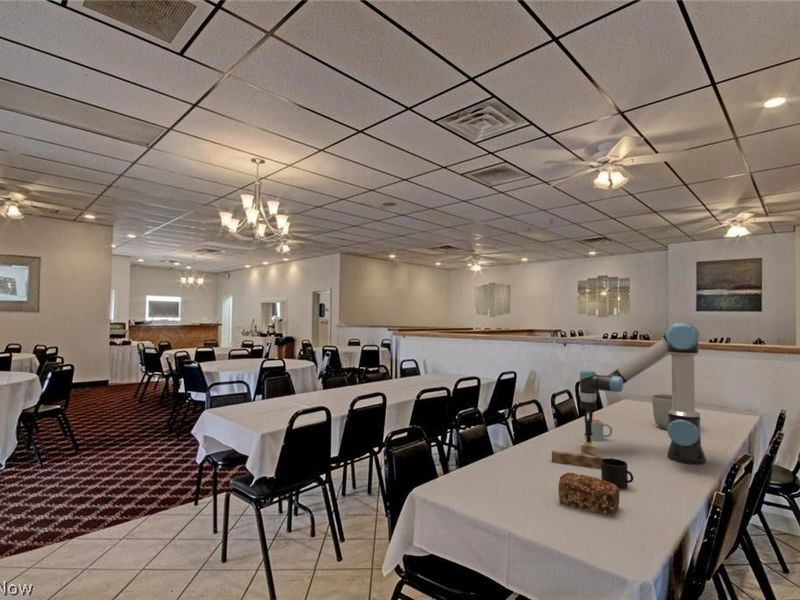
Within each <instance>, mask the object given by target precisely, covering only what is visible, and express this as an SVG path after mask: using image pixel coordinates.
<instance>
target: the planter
mask: <svg viewBox="0 0 800 600" xmlns="http://www.w3.org/2000/svg"><path fill="white" fill-rule="evenodd" d="M651 400H652V401H651V402H652V412H653V419H654V422H655V424H656V425H657V426H658V427H659V428H660V429H663V430H666V431H667V427H668V411H670V410H671V409H672V394H663V393H662V394H661V393H660V394H653V395H652V396H651Z"/></svg>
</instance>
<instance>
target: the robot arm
mask: <svg viewBox="0 0 800 600" xmlns="http://www.w3.org/2000/svg"><path fill="white" fill-rule="evenodd" d="M699 337H700V334H699V330H698V329H697V328H696V327H695V325H693V324H692V323H687V322H677V323H674V324H672V325H670V326H669V328H667V332H666V333H665V334H664V335H662V336H661V339H660V340H659V341H658V342H655V343H654V344H653V345H651V346H650V347H648V348H647V349H645V350H644V351H642V352H641V353H639V354H638V355H636V356H635V357H633V358H631V359H630V360H629V361H627V362H626V363H624V364H623V365H621V366H620V367H618V368H617V369H615V370H614V371H612V372H610V373H609V374H607V375H606V374H605V375H601V374H597V373H596V372H597V371H595V370H594V369H582V370H580V372H579V394H578V396H579V397H580V398H579V399H580V401H579V405H580V409H581V410H585V411H584V412H583V417H584V423H585V422H586V434H585V433H583V434H584V436H585V435H586V439H585V442H588V443H593V441H592V435H593V433H592V419H593V416H594V412H592V411H595V410H597V402H596V401H597V391H605V392H613V393H616V392H617V393H621V392H622V391H623V389H624V384H626V383H628V382H629V381H631V380H632V379H634V378H635V377H637V376H638V375H640V374H641V373H643V372H644V371H646V370H648V369H649V368H651V367H653V366H654V365H656V364H657V363H658V362H661V361H662V360H664V359H665V358H667V357H668V356H669V355H670V356H671V395H672V409H671V410H670V411H668V427H667V430H666V432H667V435H668V437H669V438H670V440H671V441H670V443H669V447H668V450H667V458H668V459H669V460H671V461H674V462H677V463H682V464H687V465H696V466H697V465H704V464H707V458H706V455H705V453H704V449H703V447H702V444H701V443H702V442H701V439H702V438H701V436H702V435H701V415H700V413H699V412H698V411H696V404H695V400H696V399H695V398H696V395H695V394H696V393H695V391H696V390H695V357H696V356H697V355H698V354H699Z"/></svg>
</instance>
